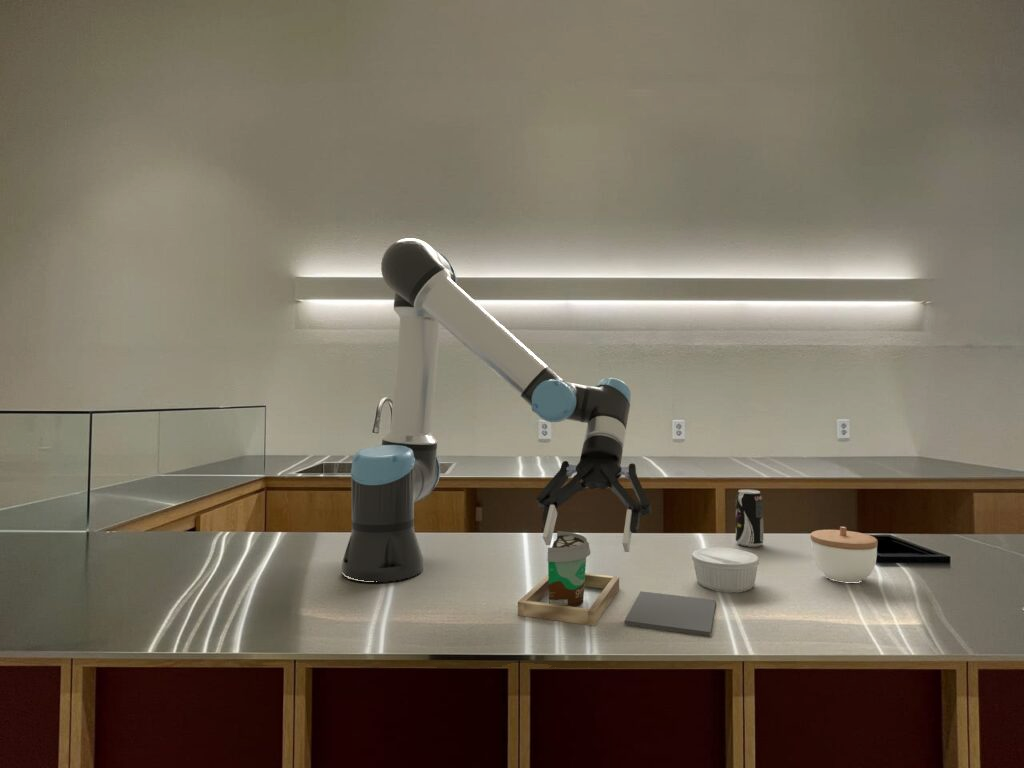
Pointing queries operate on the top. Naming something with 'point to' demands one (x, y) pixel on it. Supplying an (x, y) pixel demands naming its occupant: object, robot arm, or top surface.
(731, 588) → the ramekin
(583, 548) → the food container
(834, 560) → the lidded jar
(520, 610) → the oak frame
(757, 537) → the beverage can
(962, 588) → the top surface
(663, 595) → the charcoal mat
